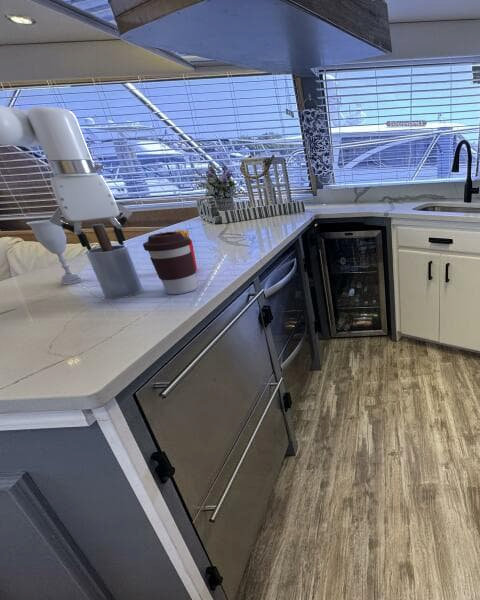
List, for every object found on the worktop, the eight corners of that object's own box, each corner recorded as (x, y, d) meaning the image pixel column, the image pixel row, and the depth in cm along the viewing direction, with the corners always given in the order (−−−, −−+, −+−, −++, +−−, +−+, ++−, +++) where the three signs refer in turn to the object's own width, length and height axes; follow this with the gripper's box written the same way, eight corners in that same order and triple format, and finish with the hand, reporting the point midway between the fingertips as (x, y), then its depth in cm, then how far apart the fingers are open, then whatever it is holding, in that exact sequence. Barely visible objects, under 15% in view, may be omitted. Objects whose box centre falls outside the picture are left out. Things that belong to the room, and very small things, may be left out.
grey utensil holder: (107, 301, 81) (87, 254, 76) (103, 293, 86) (84, 249, 81) (145, 291, 86) (129, 247, 81) (139, 285, 91) (123, 243, 86)
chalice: (50, 284, 95) (19, 223, 87) (77, 277, 101) (50, 219, 93) (67, 286, 93) (36, 223, 85) (93, 278, 98) (67, 219, 91)
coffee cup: (175, 284, 90) (157, 231, 84) (210, 282, 91) (195, 229, 85) (151, 298, 81) (130, 239, 75) (191, 296, 81) (172, 237, 76)
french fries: (197, 267, 106) (185, 227, 101) (201, 269, 103) (189, 229, 98) (164, 274, 100) (150, 232, 95) (168, 277, 97) (153, 234, 92)
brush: (116, 294, 83) (87, 226, 76) (113, 291, 86) (85, 225, 79) (135, 290, 86) (108, 224, 79) (132, 286, 88) (106, 222, 81)
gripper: (118, 168, 82) (144, 238, 89) (20, 171, 70) (58, 251, 78) (123, 167, 77) (150, 242, 84) (18, 171, 66) (59, 256, 73)
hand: (105, 246), depth 81 cm, fingers open, 5 cm apart
